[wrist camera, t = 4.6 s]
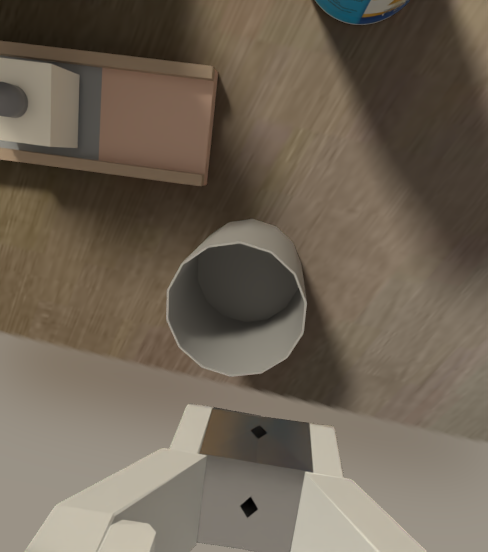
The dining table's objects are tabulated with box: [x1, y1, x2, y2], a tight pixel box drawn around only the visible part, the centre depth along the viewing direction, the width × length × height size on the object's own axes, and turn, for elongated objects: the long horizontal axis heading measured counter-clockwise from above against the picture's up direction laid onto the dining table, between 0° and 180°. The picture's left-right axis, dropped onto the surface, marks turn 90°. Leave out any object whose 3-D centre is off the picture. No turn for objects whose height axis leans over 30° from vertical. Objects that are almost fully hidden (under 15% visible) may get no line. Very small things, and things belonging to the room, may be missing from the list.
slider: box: [0, 58, 80, 148], centre depth 30 cm, size 5×5×5 cm
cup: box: [166, 219, 307, 377], centre depth 32 cm, size 8×8×10 cm
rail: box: [0, 41, 218, 186], centre depth 33 cm, size 8×24×2 cm, turn 83°
